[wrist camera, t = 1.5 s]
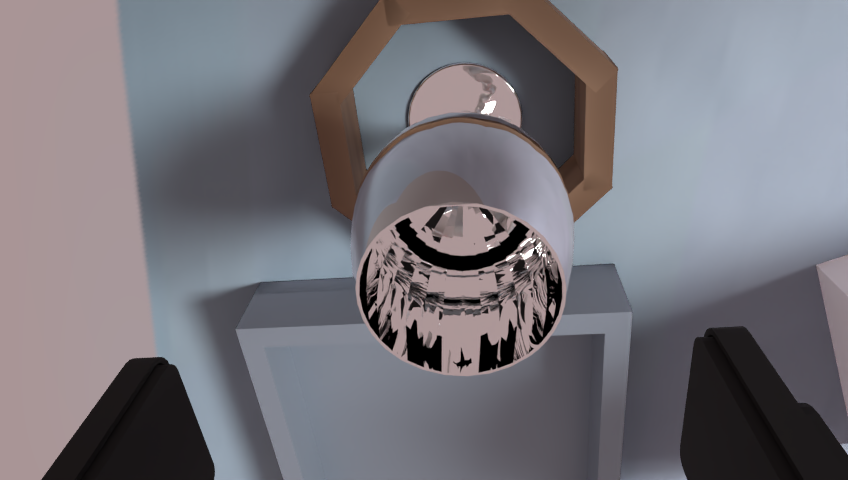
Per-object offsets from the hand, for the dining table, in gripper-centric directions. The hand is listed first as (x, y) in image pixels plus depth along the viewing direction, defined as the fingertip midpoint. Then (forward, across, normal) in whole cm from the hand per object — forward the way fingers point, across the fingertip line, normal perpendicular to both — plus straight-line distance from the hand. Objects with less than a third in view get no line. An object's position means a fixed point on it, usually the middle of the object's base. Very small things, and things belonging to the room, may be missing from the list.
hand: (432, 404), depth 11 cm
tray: (+15, +1, +16) cm, 22 cm away
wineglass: (+15, -1, -1) cm, 15 cm away
